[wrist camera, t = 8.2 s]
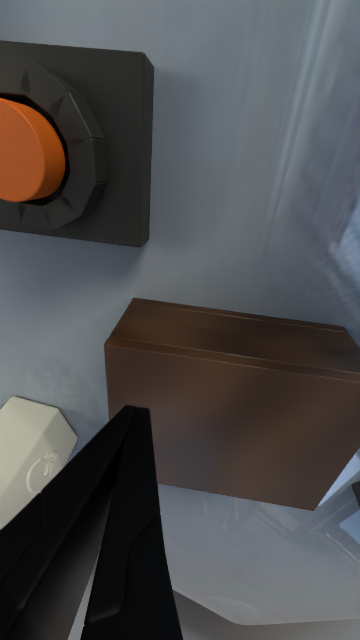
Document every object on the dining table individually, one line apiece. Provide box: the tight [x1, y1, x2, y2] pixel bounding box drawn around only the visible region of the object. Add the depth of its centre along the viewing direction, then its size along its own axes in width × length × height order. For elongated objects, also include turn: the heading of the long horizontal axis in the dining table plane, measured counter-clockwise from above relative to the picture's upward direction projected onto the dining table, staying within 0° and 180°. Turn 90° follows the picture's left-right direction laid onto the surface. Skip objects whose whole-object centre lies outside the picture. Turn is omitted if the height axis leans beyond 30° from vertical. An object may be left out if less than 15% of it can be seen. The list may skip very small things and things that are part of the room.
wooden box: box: [109, 298, 360, 374], centre depth 19 cm, size 14×12×5 cm
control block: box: [0, 41, 154, 247], centre depth 13 cm, size 10×8×4 cm
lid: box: [104, 338, 360, 511], centre depth 17 cm, size 15×12×1 cm
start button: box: [0, 98, 65, 202], centre depth 11 cm, size 4×4×2 cm
